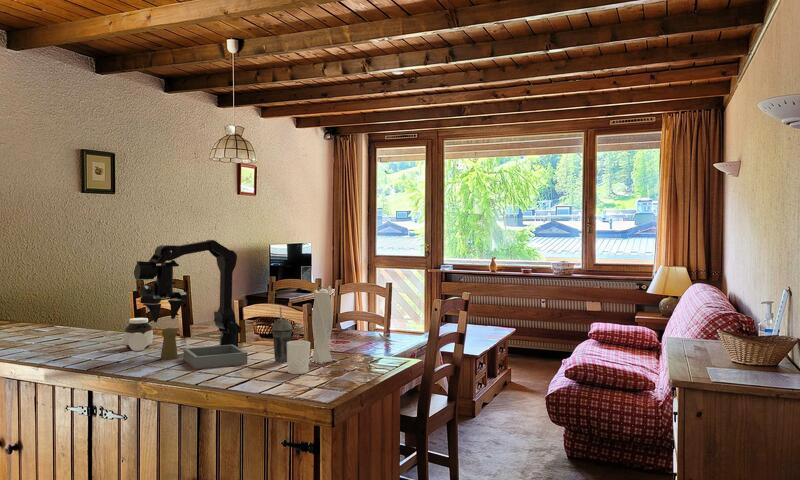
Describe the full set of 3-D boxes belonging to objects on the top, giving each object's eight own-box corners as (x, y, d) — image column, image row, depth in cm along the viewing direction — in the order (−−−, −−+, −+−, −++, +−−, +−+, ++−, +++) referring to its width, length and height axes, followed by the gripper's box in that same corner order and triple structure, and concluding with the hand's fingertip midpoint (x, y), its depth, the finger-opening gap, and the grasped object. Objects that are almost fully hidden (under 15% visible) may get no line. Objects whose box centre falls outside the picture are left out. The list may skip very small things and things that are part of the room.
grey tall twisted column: (338, 362, 210) (339, 285, 210) (320, 365, 205) (321, 286, 205) (324, 358, 216) (325, 284, 216) (306, 361, 211) (307, 285, 211)
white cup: (298, 375, 188) (299, 345, 188) (281, 372, 193) (281, 342, 193) (314, 371, 195) (315, 342, 195) (297, 368, 199) (297, 339, 199)
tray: (232, 354, 220) (232, 344, 220) (247, 363, 205) (247, 352, 205) (183, 359, 210) (183, 348, 210) (194, 369, 195) (195, 357, 195)
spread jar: (143, 345, 237) (143, 316, 237) (161, 348, 231) (161, 319, 231) (116, 349, 227) (116, 320, 227) (133, 352, 221) (134, 322, 221)
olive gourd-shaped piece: (180, 356, 215) (181, 327, 215) (173, 360, 209) (173, 329, 209) (165, 356, 216) (166, 326, 216) (157, 359, 210) (157, 329, 210)
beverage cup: (295, 360, 211) (296, 306, 211) (283, 364, 205) (284, 308, 205) (279, 358, 214) (280, 305, 214) (267, 362, 208) (268, 307, 208)
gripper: (164, 276, 227) (164, 316, 227) (128, 279, 209) (127, 322, 209) (188, 277, 223) (187, 317, 223) (153, 280, 205) (152, 324, 205)
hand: (164, 320), depth 215 cm, fingers open, 9 cm apart
